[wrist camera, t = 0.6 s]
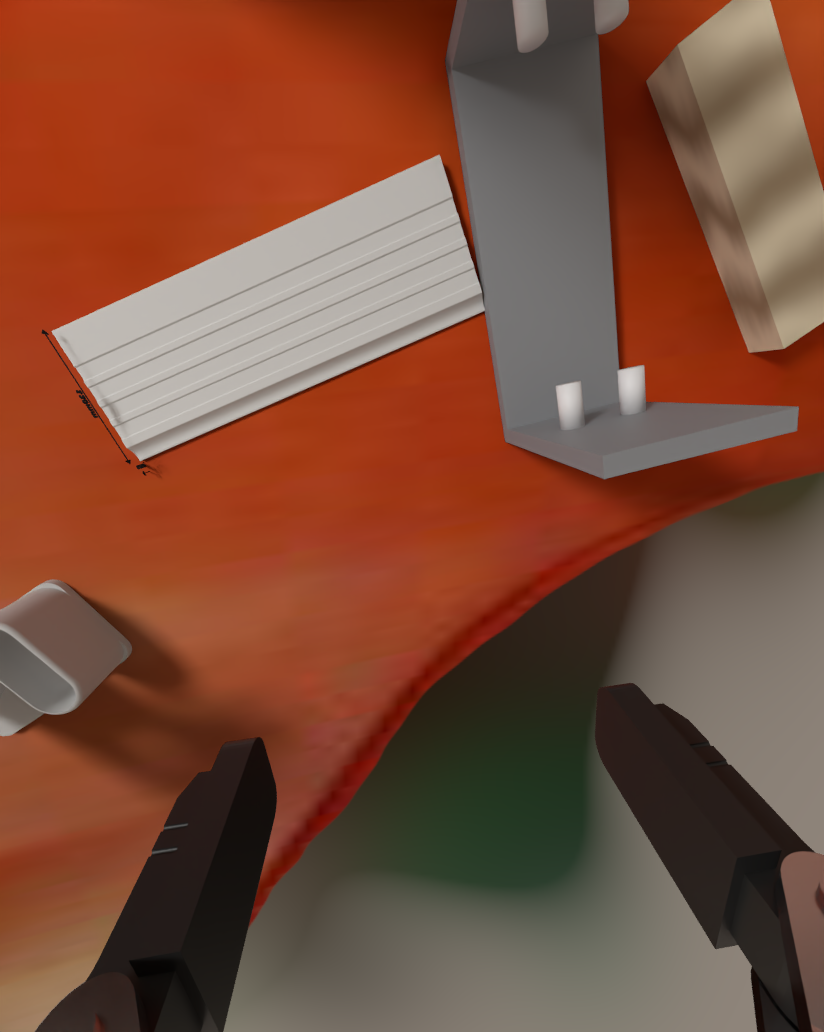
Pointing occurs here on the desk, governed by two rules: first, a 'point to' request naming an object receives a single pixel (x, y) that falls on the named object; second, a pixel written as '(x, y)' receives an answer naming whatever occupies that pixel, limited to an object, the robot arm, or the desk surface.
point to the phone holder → (52, 654)
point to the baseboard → (278, 313)
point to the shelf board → (748, 169)
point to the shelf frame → (561, 244)
